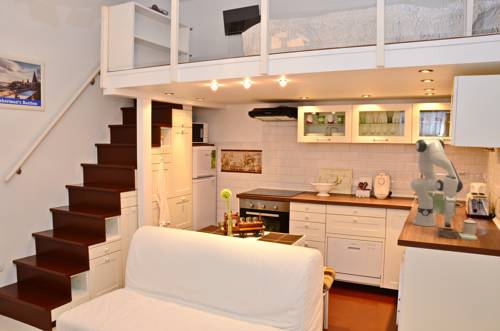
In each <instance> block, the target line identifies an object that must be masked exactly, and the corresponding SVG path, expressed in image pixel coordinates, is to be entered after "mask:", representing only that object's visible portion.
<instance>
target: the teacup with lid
mask: <svg viewBox="0 0 500 331" xmlns="http://www.w3.org/2000/svg"><path fill="white" fill-rule="evenodd" d="M461 225H463V226H462V228H461ZM458 228H459V230H461V231H462V233H464V234H474V235H475V236H476V234H477V221H475V220H473V219H472V218H470V217H468V219H466V220H463V222H461V223H459V224H458Z"/></svg>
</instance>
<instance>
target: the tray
mask: <svg viewBox="0 0 500 331" xmlns="http://www.w3.org/2000/svg"><path fill="white" fill-rule="evenodd" d="M458 238H460V240H464V241H470V242H471V241H474V242H477V241H478V237H477V236H476V234H475V235H474V234H465V233H463V232H461V233H460V232H458Z"/></svg>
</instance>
